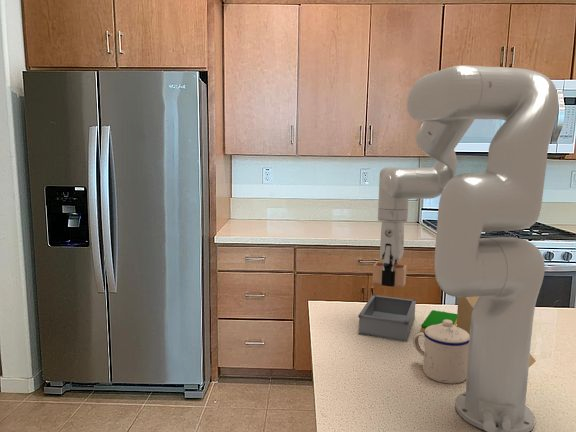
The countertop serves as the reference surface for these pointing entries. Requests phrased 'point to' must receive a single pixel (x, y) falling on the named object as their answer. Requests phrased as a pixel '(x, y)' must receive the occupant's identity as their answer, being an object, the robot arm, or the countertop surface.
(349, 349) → the countertop surface
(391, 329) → the big crate
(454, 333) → the teacup with lid
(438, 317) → the dish sponge
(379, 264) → the box
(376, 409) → the countertop surface
